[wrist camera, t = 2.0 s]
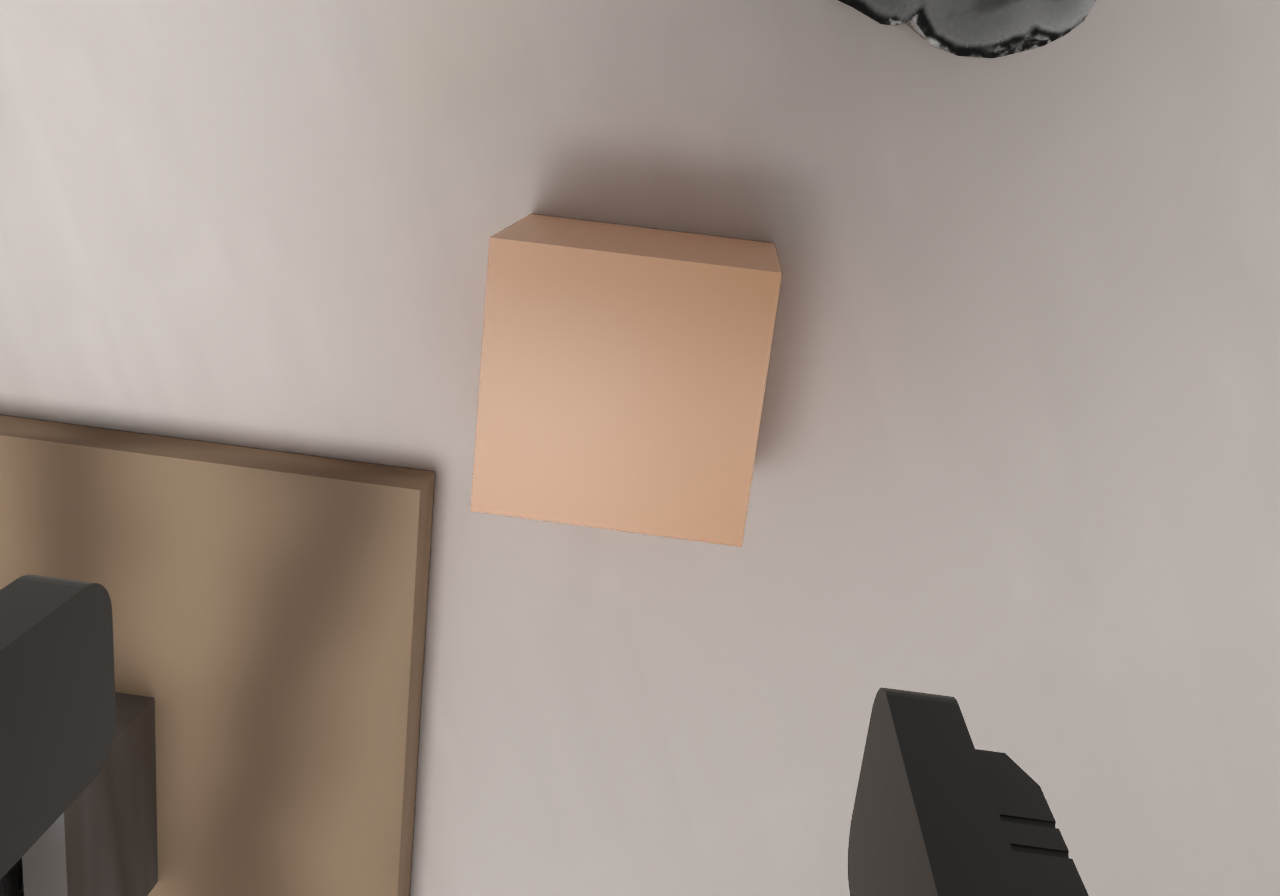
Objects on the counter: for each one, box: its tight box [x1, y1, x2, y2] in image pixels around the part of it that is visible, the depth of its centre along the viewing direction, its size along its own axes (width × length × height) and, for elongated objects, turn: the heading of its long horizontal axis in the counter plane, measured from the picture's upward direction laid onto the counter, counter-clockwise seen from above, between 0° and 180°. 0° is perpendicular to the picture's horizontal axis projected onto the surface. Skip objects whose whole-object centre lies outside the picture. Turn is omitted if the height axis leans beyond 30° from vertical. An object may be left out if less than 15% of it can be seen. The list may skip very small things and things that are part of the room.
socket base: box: [0, 415, 435, 896], centre depth 31 cm, size 20×20×6 cm
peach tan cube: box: [471, 214, 782, 547], centre depth 27 cm, size 6×6×5 cm
